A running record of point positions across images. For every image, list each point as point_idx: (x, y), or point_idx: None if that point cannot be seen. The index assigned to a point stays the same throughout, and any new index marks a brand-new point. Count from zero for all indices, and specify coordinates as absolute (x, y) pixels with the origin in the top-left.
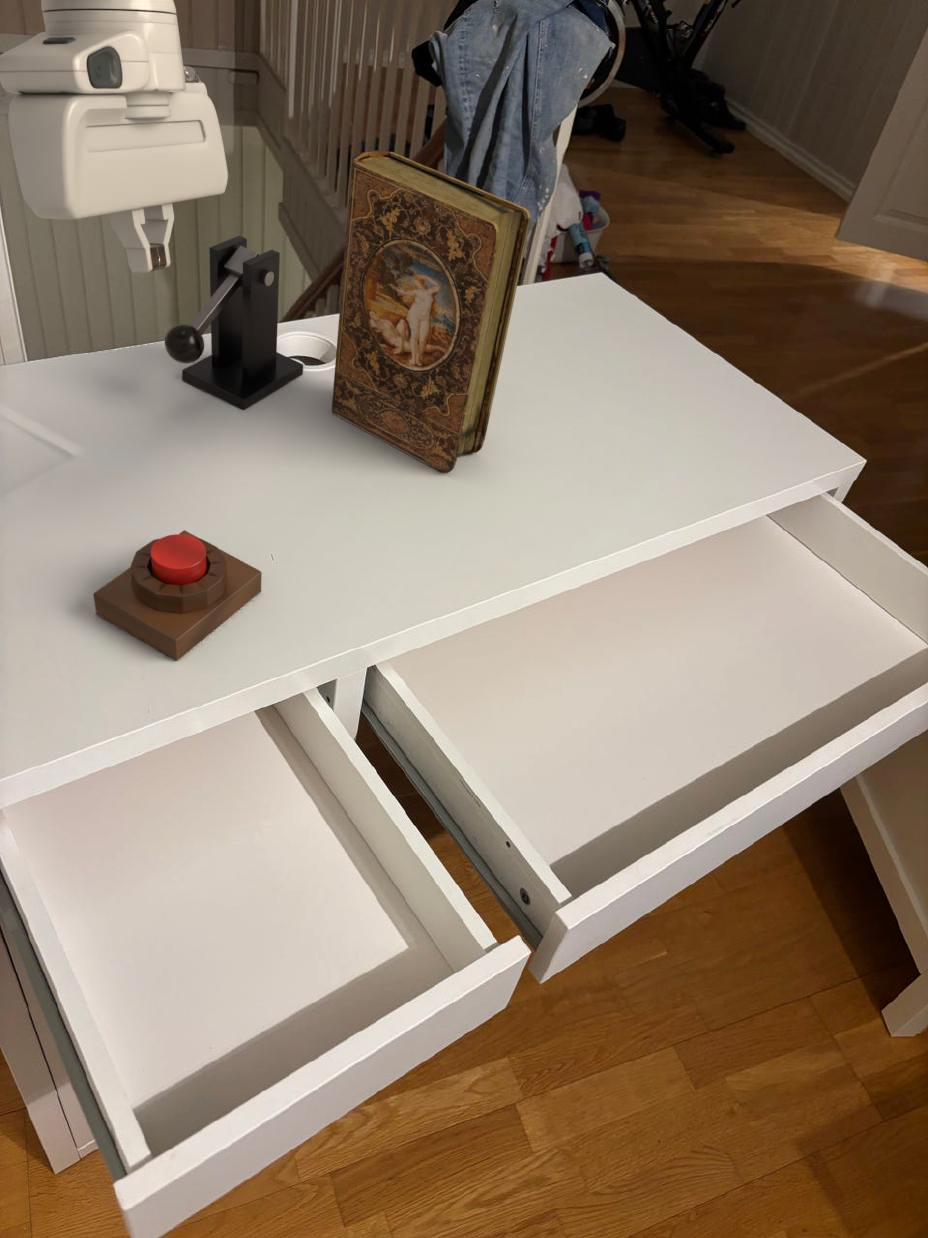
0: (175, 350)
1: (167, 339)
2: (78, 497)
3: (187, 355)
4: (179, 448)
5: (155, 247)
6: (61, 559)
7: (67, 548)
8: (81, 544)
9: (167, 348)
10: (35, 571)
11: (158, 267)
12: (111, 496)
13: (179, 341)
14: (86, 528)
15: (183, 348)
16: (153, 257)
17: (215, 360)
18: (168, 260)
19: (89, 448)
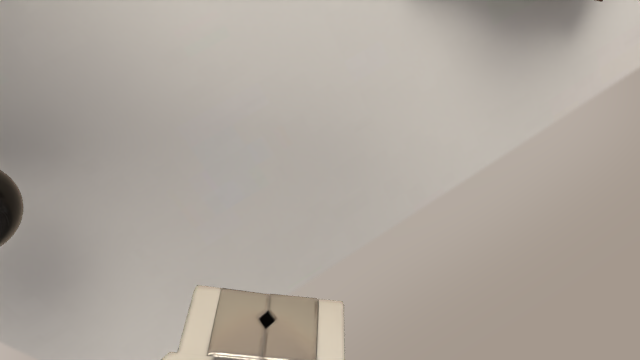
0: (19, 207)
1: (5, 238)
2: (352, 157)
3: (8, 179)
4: (149, 93)
5: (275, 356)
6: (485, 100)
7: (462, 106)
8: (448, 94)
9: (18, 226)
10: (516, 115)
11: (272, 295)
12: (329, 118)
13: (2, 210)
14: (413, 108)
15: (7, 194)
16: (300, 329)
17: None
18: (206, 297)
19: (233, 212)
